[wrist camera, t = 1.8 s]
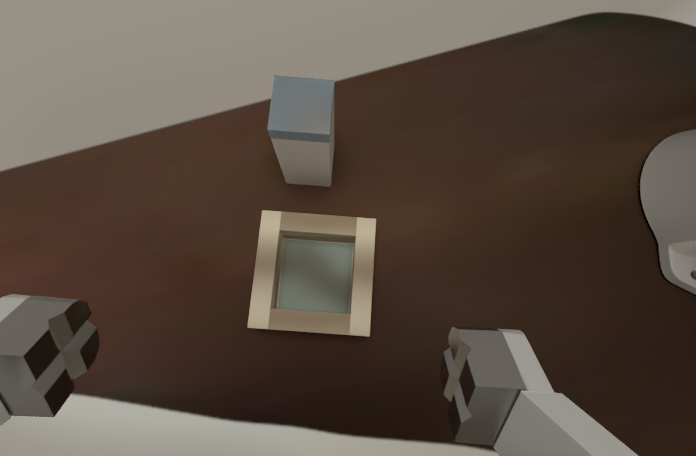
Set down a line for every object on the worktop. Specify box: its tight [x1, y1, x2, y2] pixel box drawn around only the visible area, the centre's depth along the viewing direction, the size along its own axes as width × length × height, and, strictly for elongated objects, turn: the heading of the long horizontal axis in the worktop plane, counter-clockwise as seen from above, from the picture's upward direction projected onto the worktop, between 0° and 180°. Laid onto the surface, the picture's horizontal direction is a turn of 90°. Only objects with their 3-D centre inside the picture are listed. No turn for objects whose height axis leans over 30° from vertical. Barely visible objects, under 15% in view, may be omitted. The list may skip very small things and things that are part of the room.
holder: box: [247, 210, 376, 336], centre depth 31 cm, size 9×9×4 cm
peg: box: [267, 75, 334, 187], centre depth 31 cm, size 4×4×10 cm
